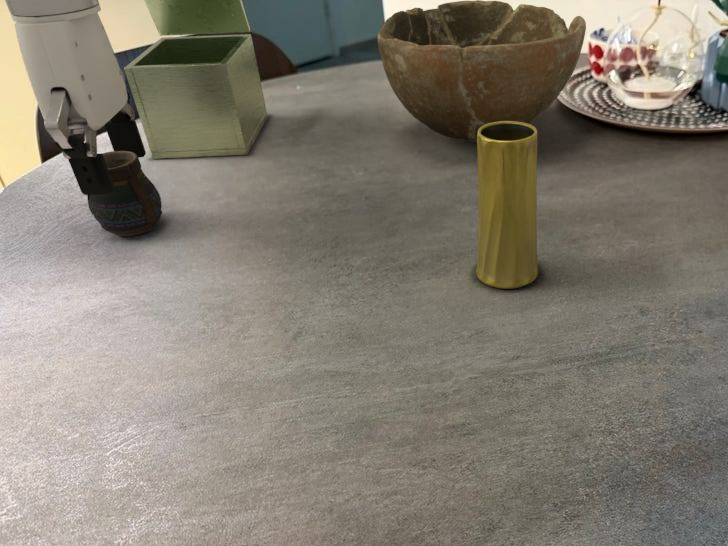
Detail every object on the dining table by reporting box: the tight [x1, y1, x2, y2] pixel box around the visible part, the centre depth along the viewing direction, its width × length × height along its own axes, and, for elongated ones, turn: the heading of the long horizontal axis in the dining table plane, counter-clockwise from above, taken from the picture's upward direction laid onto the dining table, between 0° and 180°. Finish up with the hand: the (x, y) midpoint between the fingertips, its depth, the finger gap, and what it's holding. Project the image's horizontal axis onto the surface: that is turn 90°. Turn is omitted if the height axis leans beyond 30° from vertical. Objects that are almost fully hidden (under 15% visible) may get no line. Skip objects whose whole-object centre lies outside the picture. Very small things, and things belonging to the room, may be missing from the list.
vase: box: [475, 121, 539, 290], centre depth 65 cm, size 6×6×14 cm
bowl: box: [376, 0, 587, 142], centre depth 96 cm, size 28×27×15 cm
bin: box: [123, 33, 269, 160], centre depth 98 cm, size 16×13×12 cm
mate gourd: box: [86, 150, 163, 237], centre depth 76 cm, size 7×8×10 cm
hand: (116, 174), depth 75 cm, fingers open, 9 cm apart
